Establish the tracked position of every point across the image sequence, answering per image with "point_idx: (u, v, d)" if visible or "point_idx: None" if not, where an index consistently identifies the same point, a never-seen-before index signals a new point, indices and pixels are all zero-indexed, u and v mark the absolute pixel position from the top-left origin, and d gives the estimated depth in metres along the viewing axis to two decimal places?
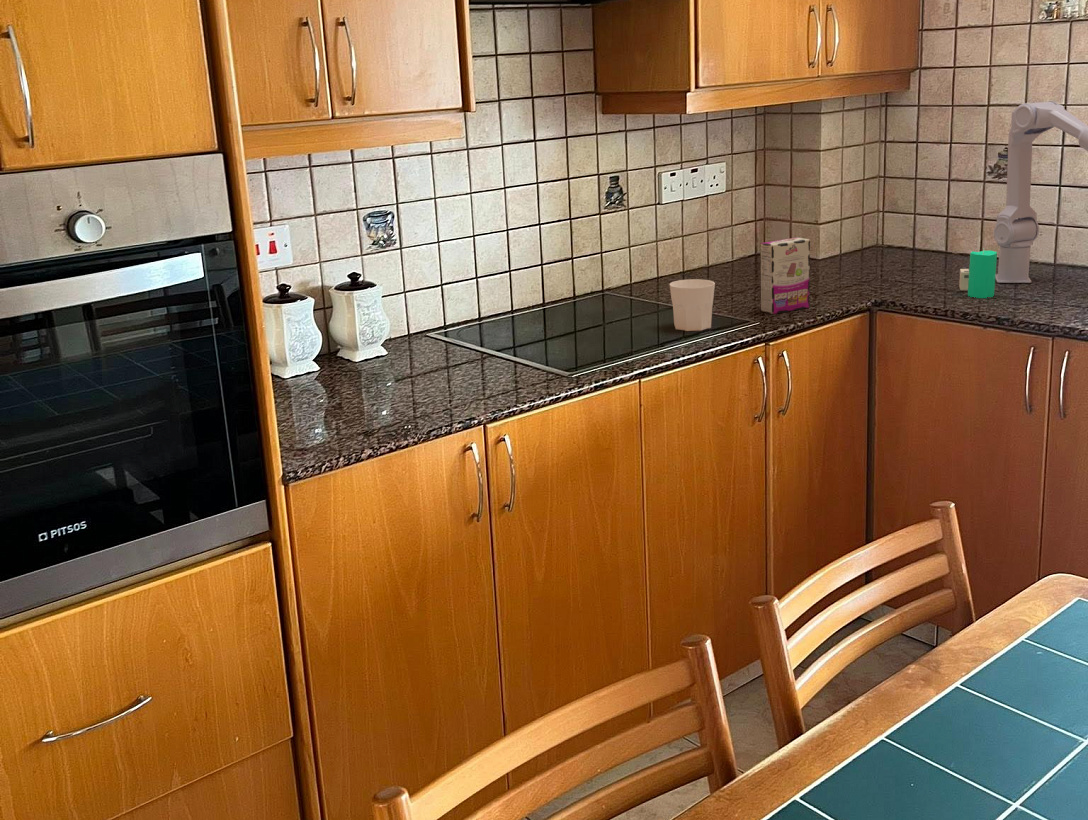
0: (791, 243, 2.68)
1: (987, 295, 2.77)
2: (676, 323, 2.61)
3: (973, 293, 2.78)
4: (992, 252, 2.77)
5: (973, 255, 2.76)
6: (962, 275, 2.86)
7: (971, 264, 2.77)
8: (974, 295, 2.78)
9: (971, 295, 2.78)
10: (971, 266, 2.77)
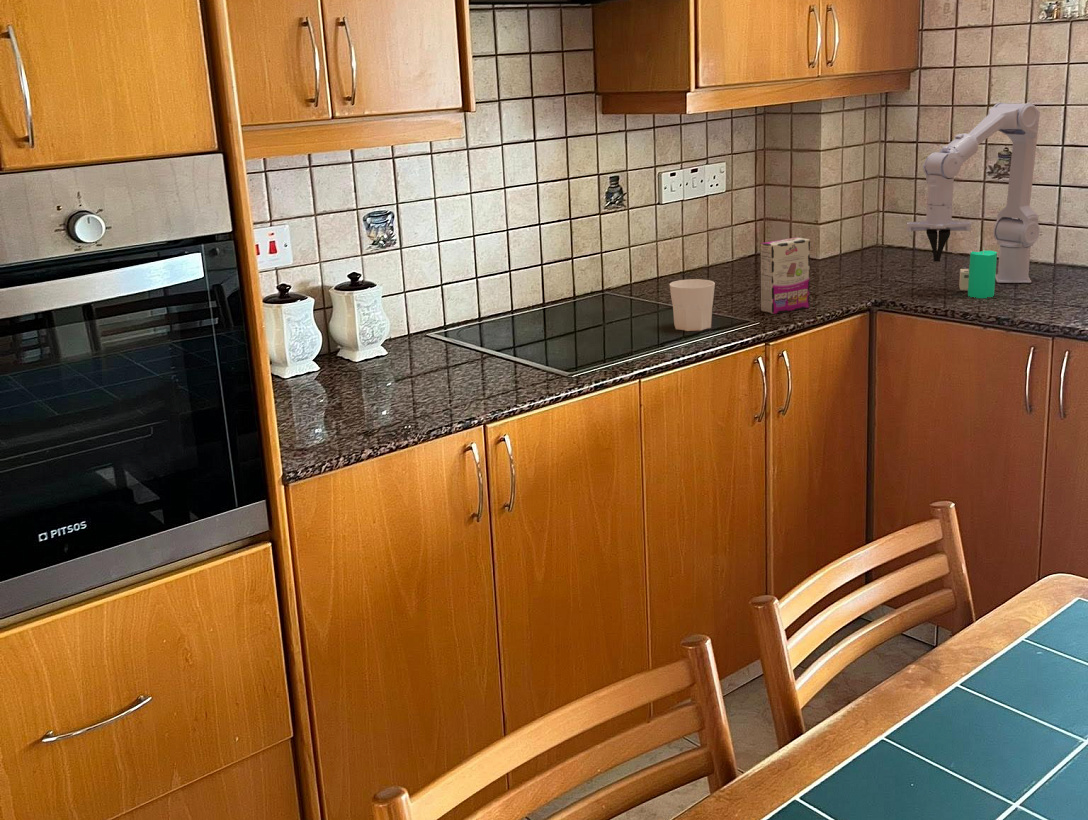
0: (791, 243, 2.68)
1: (987, 295, 2.77)
2: (676, 323, 2.61)
3: (973, 293, 2.78)
4: (992, 252, 2.77)
5: (973, 255, 2.76)
6: (962, 275, 2.86)
7: (971, 264, 2.77)
8: (974, 295, 2.78)
9: (971, 295, 2.78)
10: (971, 266, 2.77)
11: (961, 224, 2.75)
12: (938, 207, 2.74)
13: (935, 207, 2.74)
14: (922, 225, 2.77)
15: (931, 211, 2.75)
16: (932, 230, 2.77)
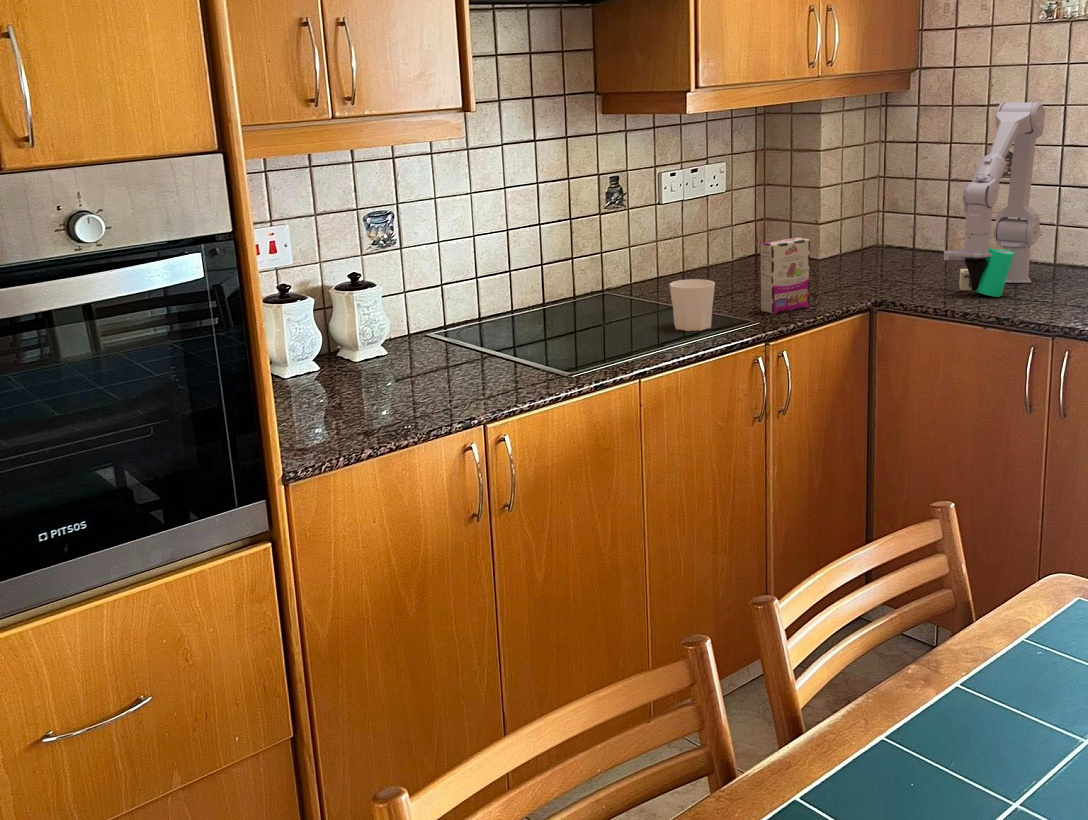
0: (791, 243, 2.68)
1: (995, 293, 2.76)
2: (676, 323, 2.61)
3: (982, 289, 2.77)
4: (1009, 252, 2.76)
5: (990, 251, 2.75)
6: (962, 275, 2.86)
7: (986, 260, 2.76)
8: (982, 291, 2.77)
9: (979, 291, 2.78)
10: None
11: None
12: (976, 236, 2.73)
13: (973, 236, 2.74)
14: (960, 254, 2.76)
15: (969, 240, 2.75)
16: (970, 259, 2.77)
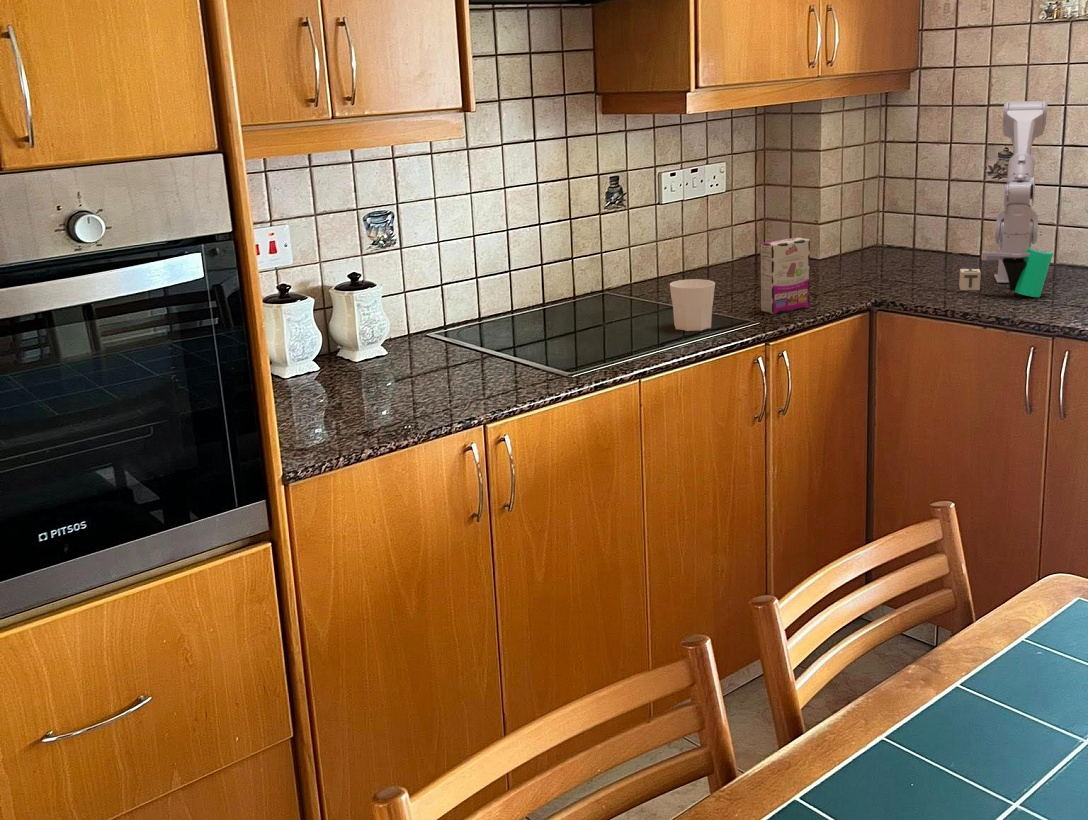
0: (791, 243, 2.68)
1: (1033, 294, 2.73)
2: (676, 323, 2.61)
3: (1019, 289, 2.74)
4: None
5: (1028, 251, 2.72)
6: (962, 275, 2.86)
7: (1024, 260, 2.74)
8: (1020, 291, 2.74)
9: (1017, 291, 2.75)
10: None
11: None
12: (1015, 236, 2.71)
13: (1012, 236, 2.71)
14: (998, 254, 2.74)
15: (1008, 240, 2.72)
16: (1008, 259, 2.75)
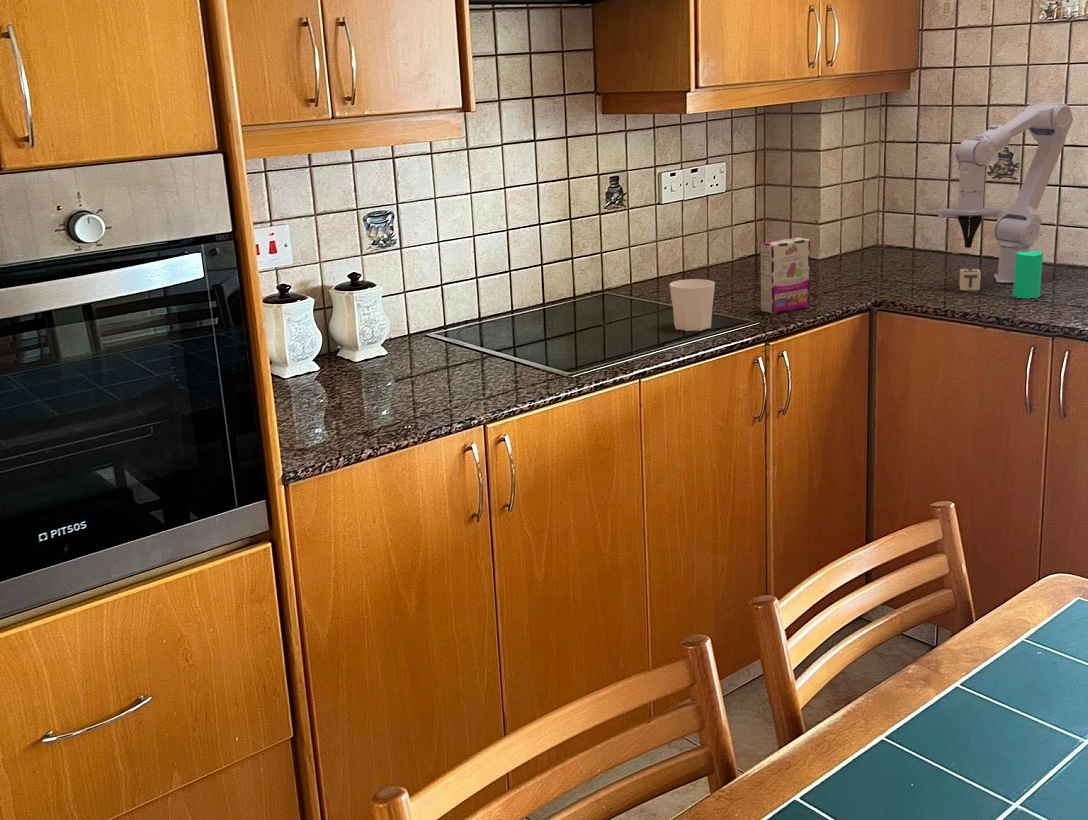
0: (791, 243, 2.68)
1: (1032, 296, 2.73)
2: (676, 323, 2.61)
3: (1017, 294, 2.75)
4: (1039, 252, 2.74)
5: (1018, 255, 2.73)
6: (962, 275, 2.86)
7: (1016, 264, 2.74)
8: (1019, 296, 2.75)
9: (1016, 296, 2.76)
10: (1016, 266, 2.74)
11: (992, 210, 2.79)
12: (970, 194, 2.78)
13: (967, 194, 2.79)
14: (954, 212, 2.81)
15: (963, 198, 2.80)
16: (964, 216, 2.82)
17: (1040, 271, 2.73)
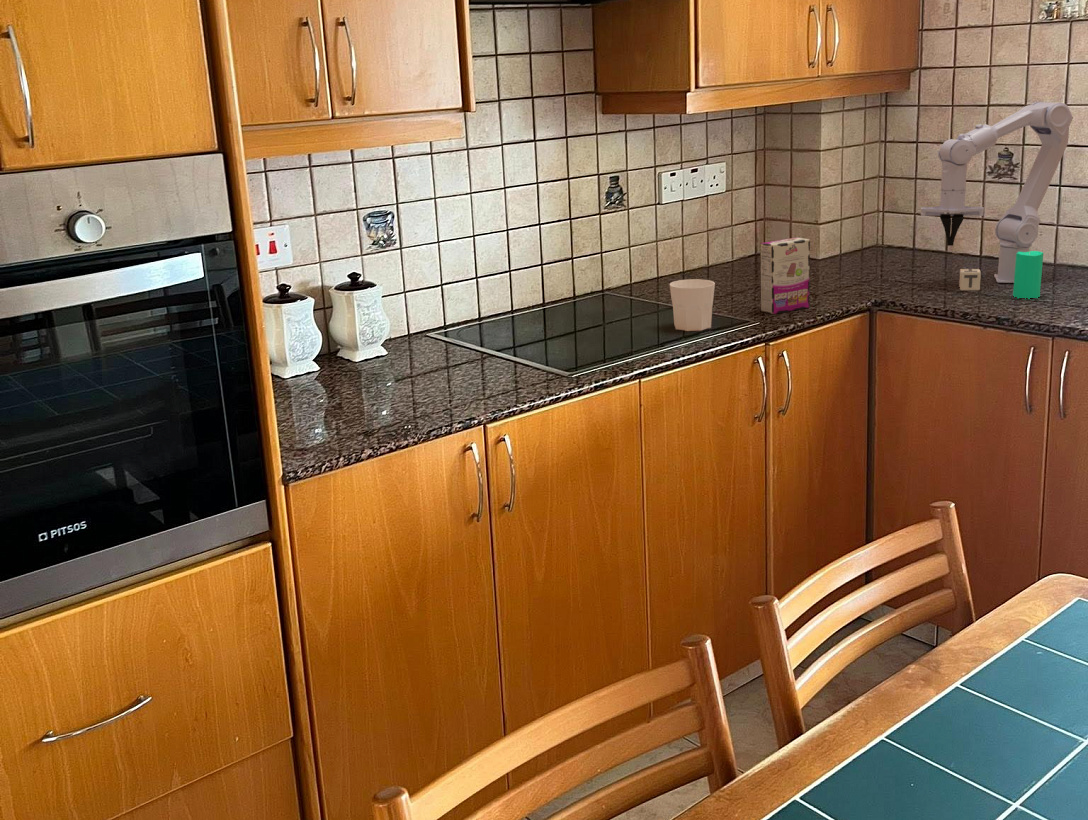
0: (791, 243, 2.68)
1: (1032, 296, 2.73)
2: (676, 323, 2.61)
3: (1017, 294, 2.75)
4: (1039, 253, 2.74)
5: (1018, 255, 2.73)
6: (962, 275, 2.86)
7: (1016, 264, 2.74)
8: (1019, 296, 2.75)
9: (1016, 296, 2.76)
10: (1016, 266, 2.74)
11: (974, 209, 2.83)
12: (952, 192, 2.82)
13: (949, 192, 2.82)
14: (936, 210, 2.85)
15: (945, 196, 2.83)
16: (946, 215, 2.86)
17: (1040, 271, 2.73)
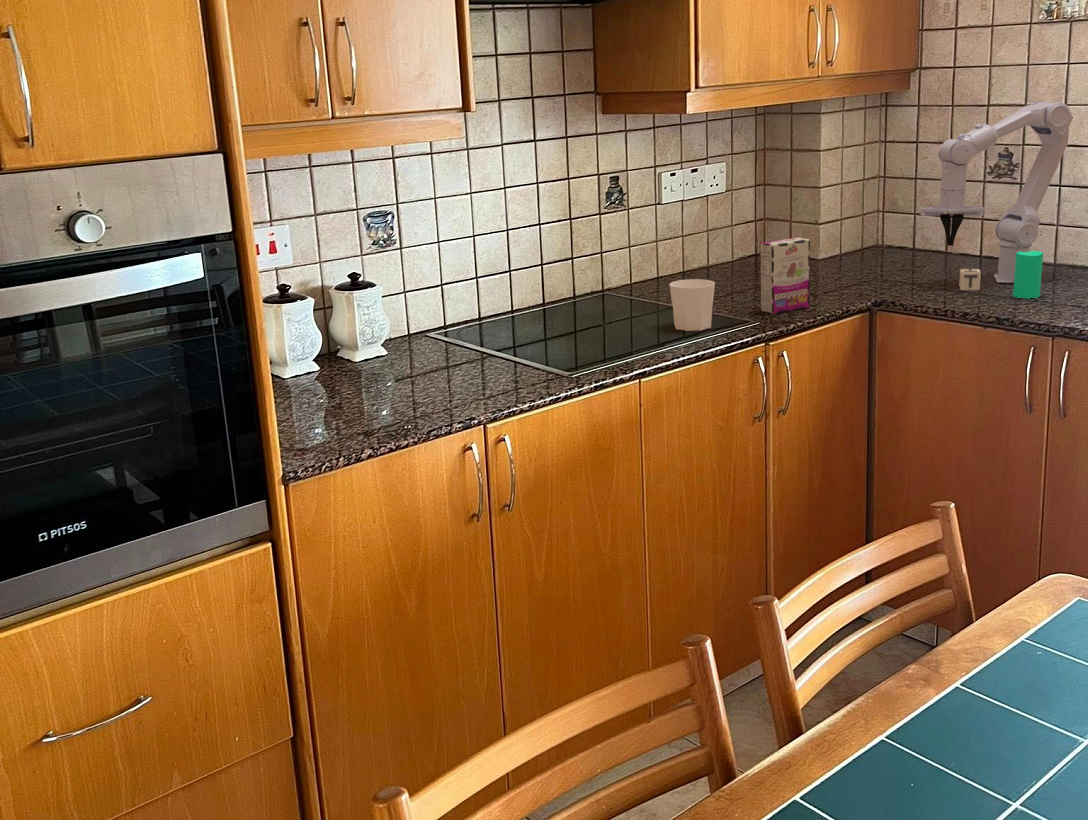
0: (791, 243, 2.68)
1: (1032, 296, 2.73)
2: (676, 323, 2.61)
3: (1017, 294, 2.75)
4: (1039, 253, 2.74)
5: (1018, 255, 2.73)
6: (962, 275, 2.86)
7: (1016, 264, 2.74)
8: (1019, 296, 2.75)
9: (1016, 296, 2.76)
10: (1016, 266, 2.74)
11: (974, 209, 2.83)
12: (952, 192, 2.82)
13: (949, 192, 2.83)
14: (936, 210, 2.85)
15: (945, 196, 2.83)
16: (946, 215, 2.86)
17: (1040, 271, 2.73)
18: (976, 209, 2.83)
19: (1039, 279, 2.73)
